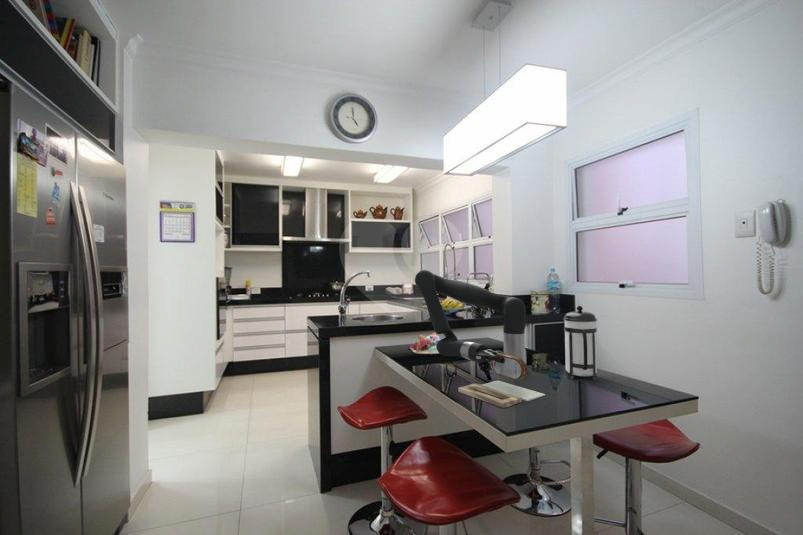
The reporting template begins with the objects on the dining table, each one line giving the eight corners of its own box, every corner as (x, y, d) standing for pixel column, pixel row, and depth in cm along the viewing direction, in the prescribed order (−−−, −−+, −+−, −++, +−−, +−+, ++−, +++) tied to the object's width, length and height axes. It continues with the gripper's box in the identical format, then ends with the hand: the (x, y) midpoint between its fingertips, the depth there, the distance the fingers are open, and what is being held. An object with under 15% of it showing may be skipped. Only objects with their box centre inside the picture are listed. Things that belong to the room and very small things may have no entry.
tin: (527, 382, 136) (528, 358, 136) (521, 383, 134) (522, 359, 135) (495, 372, 148) (496, 351, 149) (489, 373, 147) (490, 351, 147)
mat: (497, 381, 152) (497, 380, 152) (545, 395, 134) (545, 394, 134) (480, 386, 147) (480, 384, 147) (527, 401, 129) (527, 399, 129)
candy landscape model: (404, 347, 228) (404, 332, 228) (439, 344, 235) (439, 330, 235) (418, 355, 204) (418, 338, 204) (457, 352, 211) (457, 336, 211)
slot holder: (476, 387, 146) (475, 383, 146) (521, 402, 128) (521, 397, 128) (458, 391, 140) (458, 387, 140) (503, 408, 123) (503, 403, 123)
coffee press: (552, 374, 162) (551, 305, 162) (579, 370, 168) (577, 303, 169) (586, 385, 146) (584, 308, 146) (614, 380, 152) (612, 306, 153)
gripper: (461, 344, 152) (494, 352, 138) (485, 341, 160) (518, 348, 146) (461, 362, 152) (494, 372, 138) (485, 358, 160) (518, 367, 146)
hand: (506, 359), depth 142 cm, fingers closed on tin, 2 cm apart
